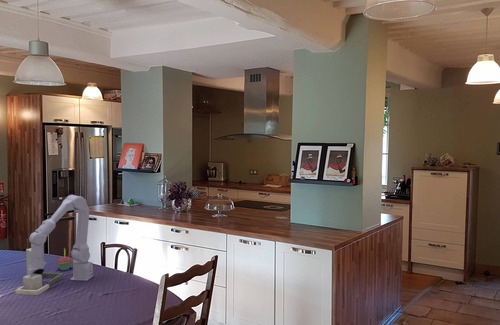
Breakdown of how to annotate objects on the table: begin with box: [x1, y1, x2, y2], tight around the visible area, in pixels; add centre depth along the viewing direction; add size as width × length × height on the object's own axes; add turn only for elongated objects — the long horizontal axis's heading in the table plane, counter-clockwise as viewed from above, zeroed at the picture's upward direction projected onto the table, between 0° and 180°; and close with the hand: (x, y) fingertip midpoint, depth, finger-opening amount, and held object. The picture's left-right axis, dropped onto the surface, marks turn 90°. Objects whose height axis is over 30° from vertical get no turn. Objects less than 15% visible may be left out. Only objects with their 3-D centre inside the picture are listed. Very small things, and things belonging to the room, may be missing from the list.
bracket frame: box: [14, 283, 50, 296], centre depth 214 cm, size 11×10×2 cm
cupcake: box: [56, 248, 73, 271], centre depth 250 cm, size 9×8×12 cm
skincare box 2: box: [22, 273, 43, 290], centre depth 214 cm, size 6×6×7 cm
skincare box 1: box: [25, 247, 44, 276], centre depth 236 cm, size 8×6×15 cm
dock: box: [42, 272, 64, 288], centre depth 228 cm, size 11×15×2 cm
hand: (37, 284), depth 218 cm, fingers closed, pressing on skincare box 2
